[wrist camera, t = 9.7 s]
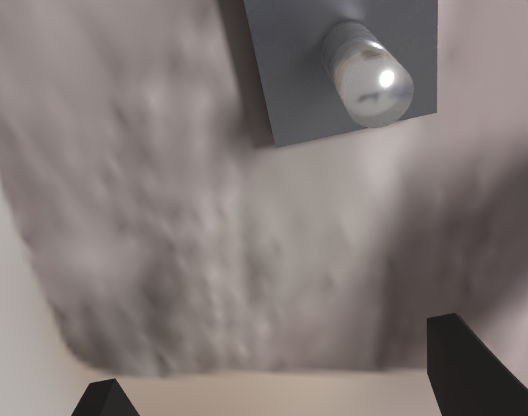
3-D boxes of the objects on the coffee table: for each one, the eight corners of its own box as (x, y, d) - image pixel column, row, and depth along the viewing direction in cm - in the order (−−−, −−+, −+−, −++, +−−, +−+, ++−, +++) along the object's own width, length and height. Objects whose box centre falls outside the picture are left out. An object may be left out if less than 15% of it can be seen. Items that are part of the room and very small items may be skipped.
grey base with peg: (426, -78, 15) (505, -59, 11) (427, 102, 18) (486, 168, 14) (236, -32, 15) (242, 3, 11) (273, 135, 18) (287, 209, 14)
